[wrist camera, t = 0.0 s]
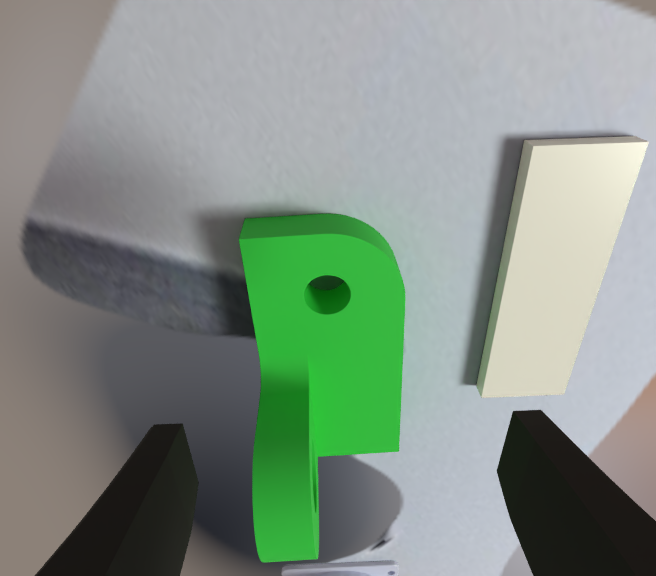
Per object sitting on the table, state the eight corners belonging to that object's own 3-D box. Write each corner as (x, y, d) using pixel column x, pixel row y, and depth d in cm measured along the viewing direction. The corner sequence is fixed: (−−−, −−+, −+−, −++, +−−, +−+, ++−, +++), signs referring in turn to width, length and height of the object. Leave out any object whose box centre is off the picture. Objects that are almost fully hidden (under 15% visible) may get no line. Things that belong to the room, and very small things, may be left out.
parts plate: (556, 382, 23) (564, 394, 22) (476, 385, 23) (481, 397, 22) (635, 135, 17) (648, 142, 16) (524, 139, 17) (533, 145, 16)
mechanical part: (392, 419, 24) (424, 581, 18) (279, 427, 24) (267, 592, 18) (398, 206, 18) (452, 332, 11) (245, 216, 18) (206, 347, 11)
